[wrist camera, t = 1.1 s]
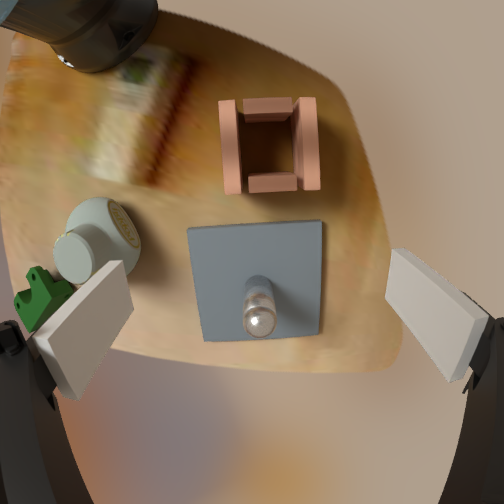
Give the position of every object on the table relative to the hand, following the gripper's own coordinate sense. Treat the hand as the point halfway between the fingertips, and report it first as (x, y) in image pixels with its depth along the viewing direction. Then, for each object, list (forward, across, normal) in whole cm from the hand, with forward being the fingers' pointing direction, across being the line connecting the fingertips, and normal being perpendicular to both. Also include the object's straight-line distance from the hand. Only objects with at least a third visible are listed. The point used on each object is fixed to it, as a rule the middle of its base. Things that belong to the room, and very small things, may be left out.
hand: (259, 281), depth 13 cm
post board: (+22, 0, -11) cm, 24 cm away
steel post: (+20, 0, -11) cm, 23 cm away
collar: (+22, +2, +6) cm, 23 cm away
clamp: (+22, -34, -12) cm, 42 cm away
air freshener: (+22, -19, -3) cm, 29 cm away
